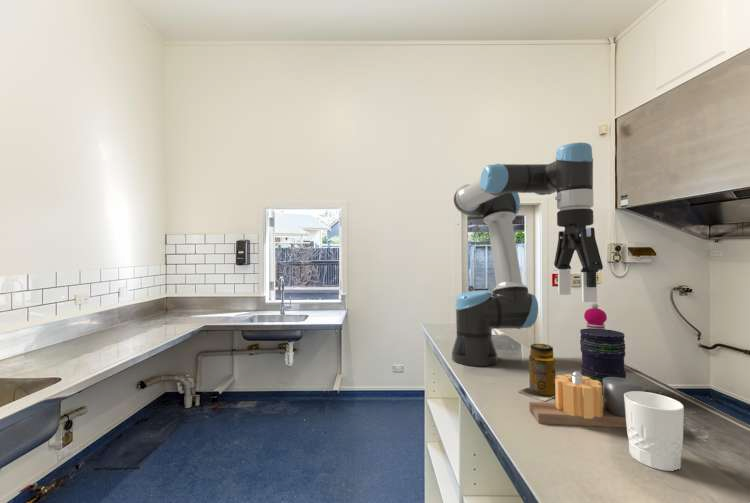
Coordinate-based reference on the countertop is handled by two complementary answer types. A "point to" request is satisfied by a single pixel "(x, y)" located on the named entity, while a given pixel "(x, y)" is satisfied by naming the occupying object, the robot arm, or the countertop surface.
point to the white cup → (654, 429)
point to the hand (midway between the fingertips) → (575, 298)
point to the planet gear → (579, 396)
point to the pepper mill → (595, 318)
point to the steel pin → (577, 377)
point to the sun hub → (618, 393)
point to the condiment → (541, 372)
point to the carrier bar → (552, 415)
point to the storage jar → (602, 354)
